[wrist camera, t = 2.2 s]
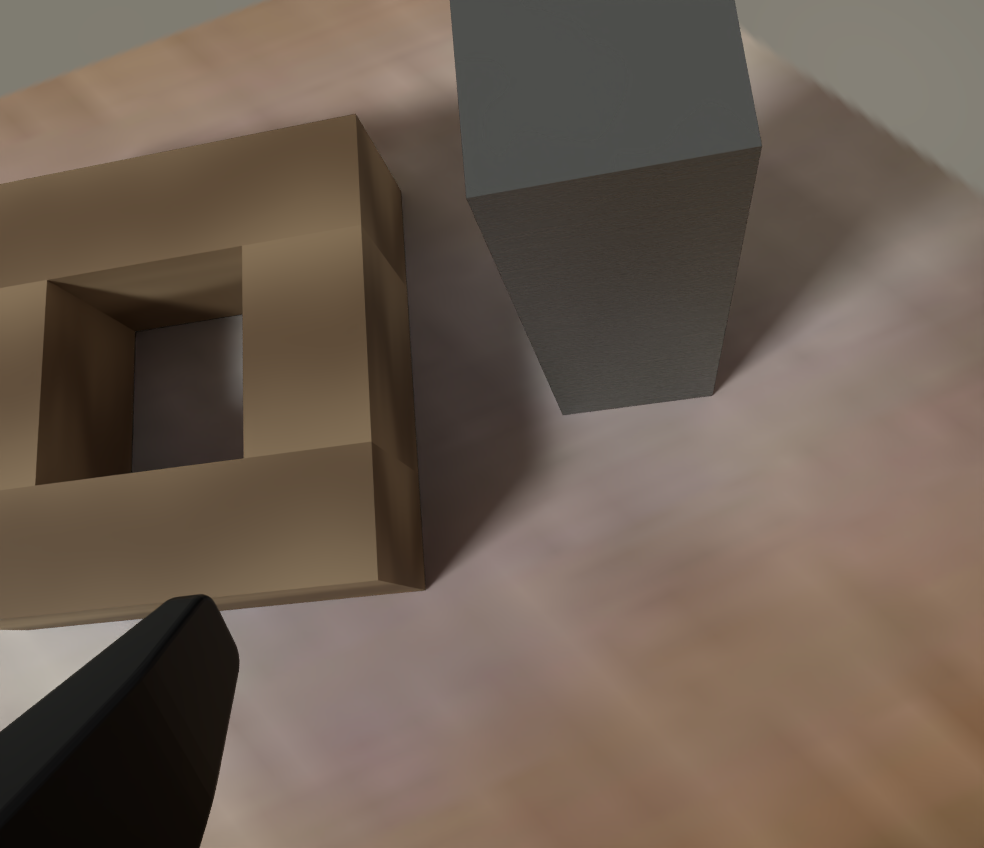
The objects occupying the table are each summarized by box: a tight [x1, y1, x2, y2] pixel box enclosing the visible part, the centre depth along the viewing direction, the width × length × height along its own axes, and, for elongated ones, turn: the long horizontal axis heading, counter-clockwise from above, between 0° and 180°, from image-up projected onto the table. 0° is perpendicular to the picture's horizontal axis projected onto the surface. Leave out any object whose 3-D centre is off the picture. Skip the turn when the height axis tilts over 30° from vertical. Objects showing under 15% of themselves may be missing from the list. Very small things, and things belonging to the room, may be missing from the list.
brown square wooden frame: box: [0, 114, 426, 630], centre depth 23 cm, size 12×12×4 cm
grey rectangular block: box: [450, 0, 762, 415], centre depth 18 cm, size 4×4×12 cm
